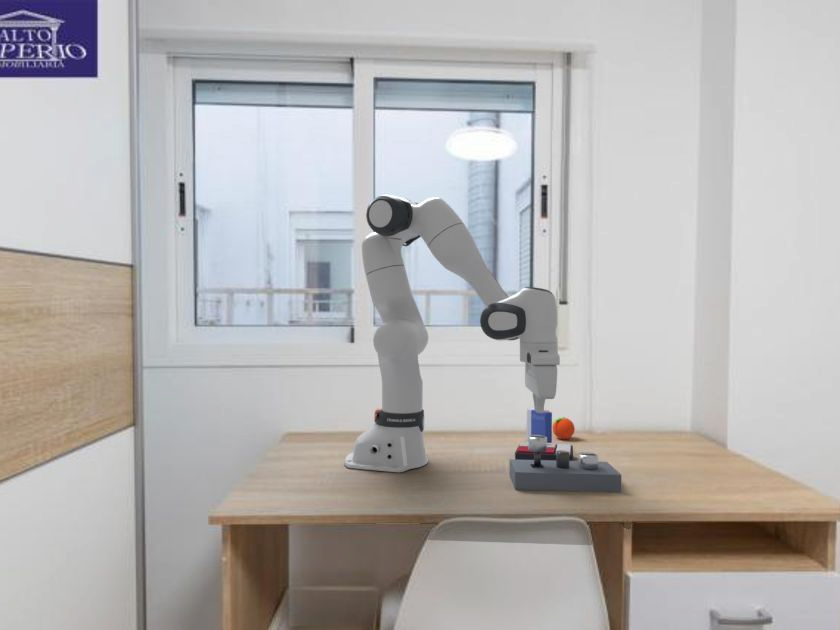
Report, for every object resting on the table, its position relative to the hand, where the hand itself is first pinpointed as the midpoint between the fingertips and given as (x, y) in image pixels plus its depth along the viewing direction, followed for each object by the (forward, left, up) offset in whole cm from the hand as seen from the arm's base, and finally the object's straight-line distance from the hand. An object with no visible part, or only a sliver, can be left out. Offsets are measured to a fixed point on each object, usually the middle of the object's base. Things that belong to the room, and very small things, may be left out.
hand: (539, 411), depth 116 cm
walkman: (+6, +30, -17) cm, 35 cm away
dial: (+6, 0, -13) cm, 14 cm away
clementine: (+16, +43, -17) cm, 49 cm away
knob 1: (0, 0, -13) cm, 13 cm away
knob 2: (+12, 0, -17) cm, 21 cm away
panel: (+6, 0, -17) cm, 18 cm away
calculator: (+5, +20, -18) cm, 27 cm away
